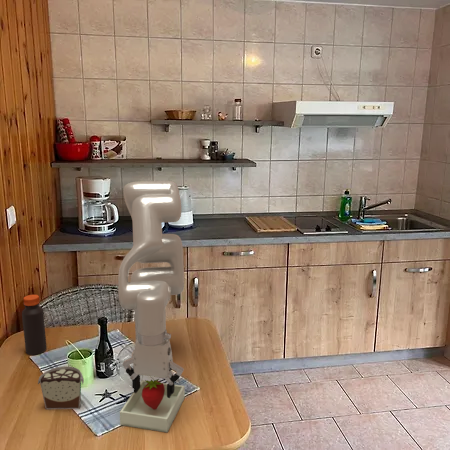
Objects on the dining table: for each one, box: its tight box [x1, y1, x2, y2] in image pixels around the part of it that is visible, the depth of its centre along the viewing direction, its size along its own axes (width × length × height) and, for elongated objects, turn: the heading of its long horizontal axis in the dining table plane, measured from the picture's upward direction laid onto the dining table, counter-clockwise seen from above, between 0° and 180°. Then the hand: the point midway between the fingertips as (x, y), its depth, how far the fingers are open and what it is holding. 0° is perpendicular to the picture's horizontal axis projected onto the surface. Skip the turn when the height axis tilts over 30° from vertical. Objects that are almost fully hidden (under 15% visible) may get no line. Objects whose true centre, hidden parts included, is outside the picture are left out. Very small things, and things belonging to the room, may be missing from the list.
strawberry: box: [142, 377, 165, 410], centre depth 124 cm, size 6×8×10 cm
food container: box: [37, 365, 85, 410], centre depth 127 cm, size 12×6×10 cm, turn 92°
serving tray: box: [119, 379, 186, 433], centre depth 125 cm, size 15×13×4 cm
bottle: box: [21, 294, 48, 356], centre depth 154 cm, size 7×7×20 cm
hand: (153, 392), depth 124 cm, fingers open, 9 cm apart
